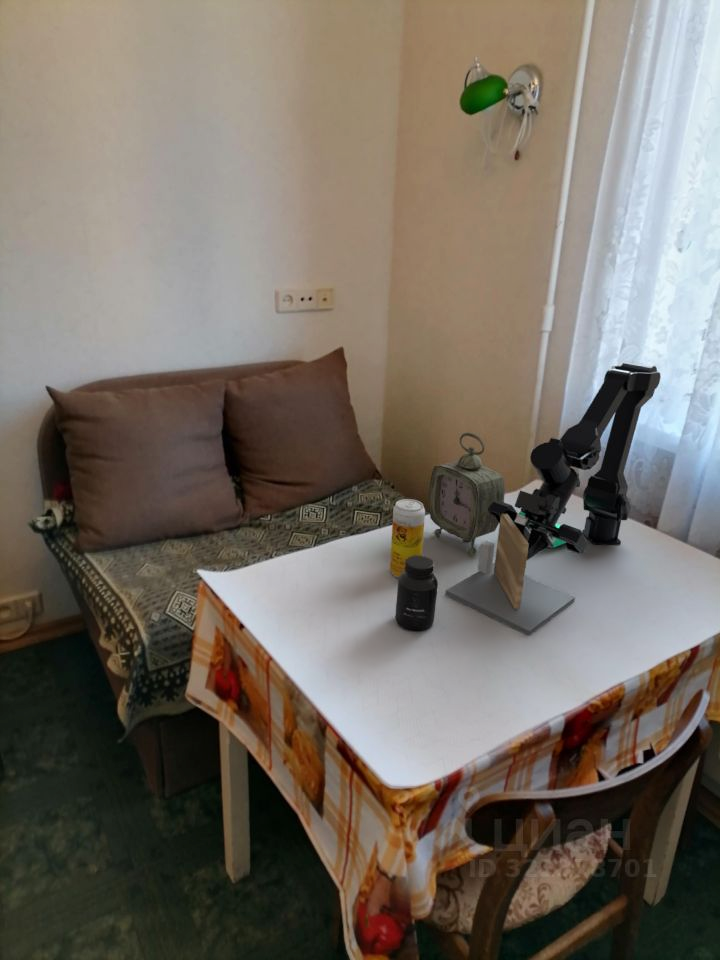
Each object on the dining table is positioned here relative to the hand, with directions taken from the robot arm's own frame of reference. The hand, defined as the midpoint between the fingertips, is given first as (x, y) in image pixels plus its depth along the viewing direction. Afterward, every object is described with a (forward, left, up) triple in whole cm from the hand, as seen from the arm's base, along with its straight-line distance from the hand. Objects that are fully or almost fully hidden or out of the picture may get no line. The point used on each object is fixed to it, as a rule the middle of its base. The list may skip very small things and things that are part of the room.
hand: (515, 565), depth 123 cm
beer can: (+19, -10, -7) cm, 22 cm away
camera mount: (-15, -25, -7) cm, 30 cm away
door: (+1, -1, -5) cm, 6 cm away
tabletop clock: (+4, -23, -7) cm, 24 cm away
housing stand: (+1, 0, -7) cm, 7 cm away
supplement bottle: (+20, +7, -7) cm, 22 cm away
